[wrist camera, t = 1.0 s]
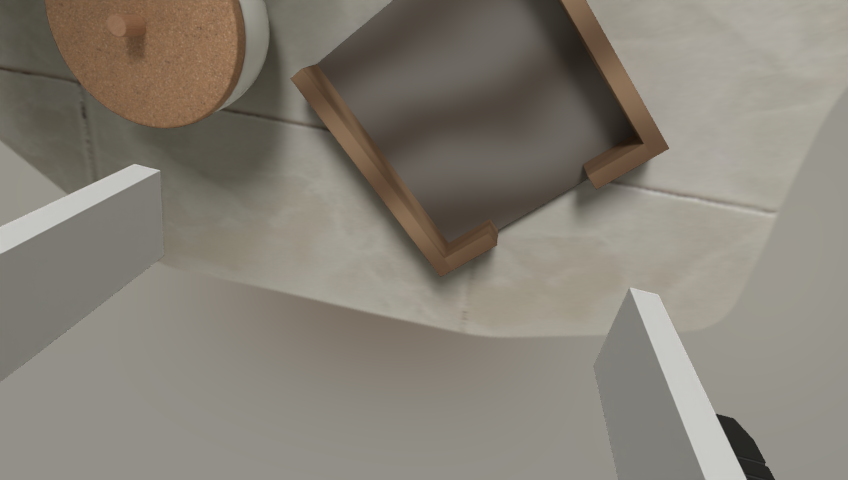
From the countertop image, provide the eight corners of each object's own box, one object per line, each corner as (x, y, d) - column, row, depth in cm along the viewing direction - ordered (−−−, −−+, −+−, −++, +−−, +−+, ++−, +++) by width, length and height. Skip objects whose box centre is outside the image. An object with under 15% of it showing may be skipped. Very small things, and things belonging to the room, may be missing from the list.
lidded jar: (329, 36, 33) (264, 47, 24) (223, 135, 37) (136, 174, 28) (209, -119, 30) (90, -167, 22) (109, 6, 34) (-24, 6, 26)
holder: (309, 72, 34) (290, 78, 31) (520, -104, 28) (520, -116, 25) (446, 256, 38) (440, 276, 35) (655, 135, 32) (669, 148, 29)
